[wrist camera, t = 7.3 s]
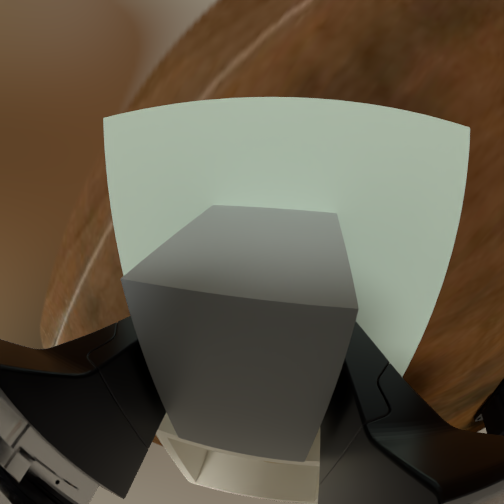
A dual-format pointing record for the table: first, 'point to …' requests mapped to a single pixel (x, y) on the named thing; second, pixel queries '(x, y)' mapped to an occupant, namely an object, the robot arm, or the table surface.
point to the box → (244, 469)
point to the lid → (277, 252)
